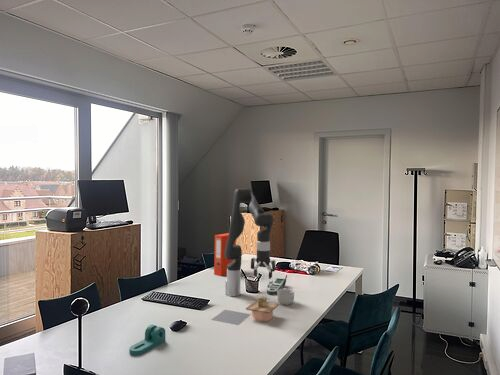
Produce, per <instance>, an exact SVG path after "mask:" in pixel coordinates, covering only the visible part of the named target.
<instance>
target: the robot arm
mask: <svg viewBox="0 0 500 375" xmlns="http://www.w3.org/2000/svg"><path fill="white" fill-rule="evenodd" d="M232 203H233V204H232V212H231V217H230V222H229V229H228V233H229V235H228V240H227V243H226V247H225V258H226V259H228V260H231V259H234V261H233V262H231V263H230V264H228V265H227V275H226V280H225V295H227V296H229V297H239V296H241V272H242V271H241V266H242V256H243V251H242V246H240V245H239V244H236V245H233V244H234V242H235V241H236V242H237V239H238V238H239V237H240V236H241V235H242V233H243V232H244V229H245V225H246V224H245V223H246V222H245V218H244V215H243V213H242V212H241V208H240V205H241V204H249V205H248V211H249V213H250V214H251V216H252V217H253V220H254V221H253V222H254V224H255V225H256V226H258V227H264V228H263V229H261V230H258V231H257V234H256V235H257V237H256V240H257V241H256V258H255V257H252V258H251V259H250V269H251V270H253V276H254V277H255V278H256V277H258V268H259V267H260V268H266V269H267V270H268V279H269V280H272V278H273V272H275V271H276V267H277V266H276V260H275V259H271V241H270V240H271V238H270V237H271V231H272V227H273V223H274V217H273V215H272V214H271V213H265V210H264V209H263V208H262V207H261V204H259V203H258V201H257V199H256V196H255V194H254V193H253V191H252V189H250V188H245V187H244V188H240V187H239V188H236V189H235V190H234V194H233V201H232ZM255 263H256V265H255ZM270 264H271V265H270Z"/></svg>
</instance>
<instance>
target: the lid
mask: <svg viewBox="0 0 500 375" xmlns="http://www.w3.org/2000/svg"><path fill="white" fill-rule="evenodd" d="M278 306H279V303H273V302H267V296H263V295H261V296H258V300H255V301H254V302H252V303H250V304H249V305H248V306H247V307H246V308H245V310H246V311H251V312H252V311H257V312H262V313H268V314H270V313H271V312H272V311H273V312H274V310H275V309H276V308H278Z"/></svg>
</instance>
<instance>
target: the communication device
mask: <svg viewBox="0 0 500 375" xmlns="http://www.w3.org/2000/svg"><path fill="white" fill-rule="evenodd" d="M287 277H288V274H286V275H285V278H278V277H277V278H276V279H270V280H269V281H268V283H267V284H266V285H267V288H266V294H267V295H270V296H277V291H278V290H280V289H284V288H286V283H287Z"/></svg>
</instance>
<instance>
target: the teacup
mask: <svg viewBox="0 0 500 375" xmlns="http://www.w3.org/2000/svg"><path fill="white" fill-rule="evenodd" d="M276 296H277V301H278V303H280V305H282V306H290V305H291V304H292V303H294V301H295V290H294V289H291V288H286V287H284V288H283V289H280V290H278V291H277V295H276Z"/></svg>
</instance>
